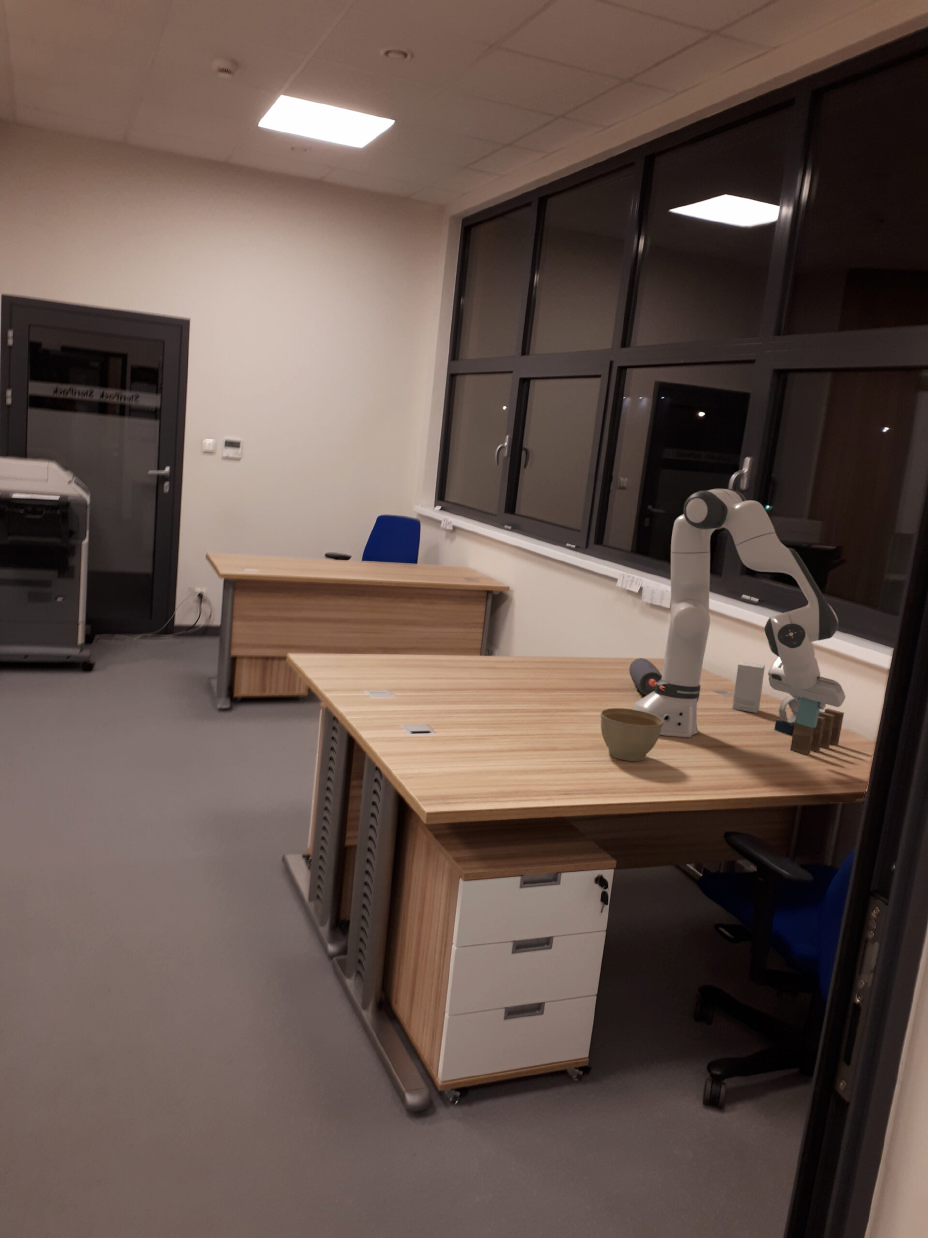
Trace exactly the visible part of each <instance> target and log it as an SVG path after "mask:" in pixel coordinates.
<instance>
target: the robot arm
mask: <svg viewBox="0 0 928 1238" xmlns="http://www.w3.org/2000/svg"><path fill="white" fill-rule="evenodd" d="M723 529H726V530H728V531H729V534H730V535H731V536H732V539H733V543H734V545H735V550H737V554H738V556H739V559H740V560H741V562H742V564H743V565H744V566H746V568H748V569H750V570H753V571H756V572H761V573H763V572H765V573H766V572H767V573H783V574H786V575H790V576H791V577H792V578H793V579H794V580H795V581H796V582H797V585H798V586H799V588H800V589H801V592H802V593H803V595H804V597H805V598H806V601H808V603H807V605H805V606H803V607H799V608H796V609H793V610H790V611H789V610H788V611H785V612H782V613H779V614H776V615H774V616H771V617H769V618H768V619H767V621H766V624H765V626H764V633H765V636H766V639H767V641H768V647H769V649H770V652H771V653H773V655H775V656H776V659H775V660H774V662H773V663H772V665H771V666H770V668H769V670H768V672H767V675H768V683H769V686H770V688H771V689H773V690H775V691H779V692H782V693H786V694H789V695H790V697H792V698H794V699H795V700H796V702H797V703H800V699H801V697H803V698H807V699H810V700H814V701H817V702H819V703H818V705H817V706H818V708H819V709H820V710H824V711H825V709H826V706H827V705H828V706H833V707H835V708H839V707H841V706H842V705H843V703H844V701H845V700H846V694H845V691H844V689H843V687H842V685H841V684H840V683H839V682H838V681H836V680H834V679H832V678H827V677H823V676H821V672H820V667H819V665H818V661H817V660H818V659H817V658H816V655H815V654H816V653H815V649H814V646H813V642H817V641H819V642H820V641H823V640H828V639H832V637H833V636H834V635H835V633H837V631H838V628H839V626H840V625H839V619H838V616H837V614H836V612H835V611H834V609H833V607H832V606H831V605H830V604H829V602H828V601H827V600H826V598H825V596H824V595H823V594H822V591H821V590H820V587H819V586H818V584H817V583H816V581H815V580H814V579H815V578H813V576H812V574H811V572H810V571H809V568H808V567H807V566H806V564H805V563H804V560H803V558H802V557H801V556H800V555H799V553H798V552H797V551H796V550H795V549H794V548H791V547H787V546H785V545H784V544H783V543H782V542H781V540H780V539H779V537H778V536H777V533H776V530H775V527H774V525H773V523H772V521H771V519H770V517H769V515H768V513H767V510H766V509H765V507H764V505H762V504H761V503H760V502H759V501H756V500H751V499H750V500H747V499H746V497H745V496H744V494H743V493H741V492H740V491H738V490H735V489H733V488H732V489H731V488H713V489H709V490H699V491H697V492H694V493H693V494H691V495H690V496H689V497H688V498H686V501H685V502H684V504H683V514H681V515H679V516H678V517H677V518H676V519H675V520H674V522H673V527H672V533H671V534H672V535H671V544H670V621H669V628H668V629H669V630H668V635H667V641H666V647H665V652H664V654H665V655H664V659H663V660H664V661H663V667H662V673H661V675H662V678H661V679H660V680H659V681H658V682H657V681H655V680H654V679H650V682H649V685H651V686H652V687H655V689H654V690H655V691H653V692H652V693H650V694H649V695H644V696H643V697H642V698H640V699H638V701H636V702H634V704H633V706H632V708H631V709H633V710H639V711H644V712H648V713H651V714H654V715H656V716H658V717H660V718H661V719H662V720H663V725H662V727H661V732H660V735H659V736H668V737H669V736H670V737H680V738H692V737H693V735H695V734H697V733H698V732H699V731H698V722H697V718H698V717H697V714H698V713H697V710H698V709H697V708H698V701H699V699H700V692H701V684H700V682H701V677H702V676H701V675H702V669H703V663H704V658H705V653H706V649H707V642H708V636H709V632H710V631H709V630H710V627H711V617H710V585H711V584H710V581H711V580H710V579H711V572H710V571H711V536H712V534H713V533H714V532H715V530H717V531H721V530H723Z"/></svg>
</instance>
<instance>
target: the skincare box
mask: <svg viewBox="0 0 928 1238" xmlns="http://www.w3.org/2000/svg"><path fill="white" fill-rule="evenodd" d="M765 667H766V664H759V663H755V662H753V663H752V662H747V661H740V662H738V664H737V670H736V671H737V672H736V677H735V678H736V679H735V685H734V693H733V702H732V708H731V709H732V710H737V711H742V712H743V711H744V712H749V713H755V714H757V713H758V711H759V710H760V705H761V696H762V691H763V683H764V676H765Z"/></svg>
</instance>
